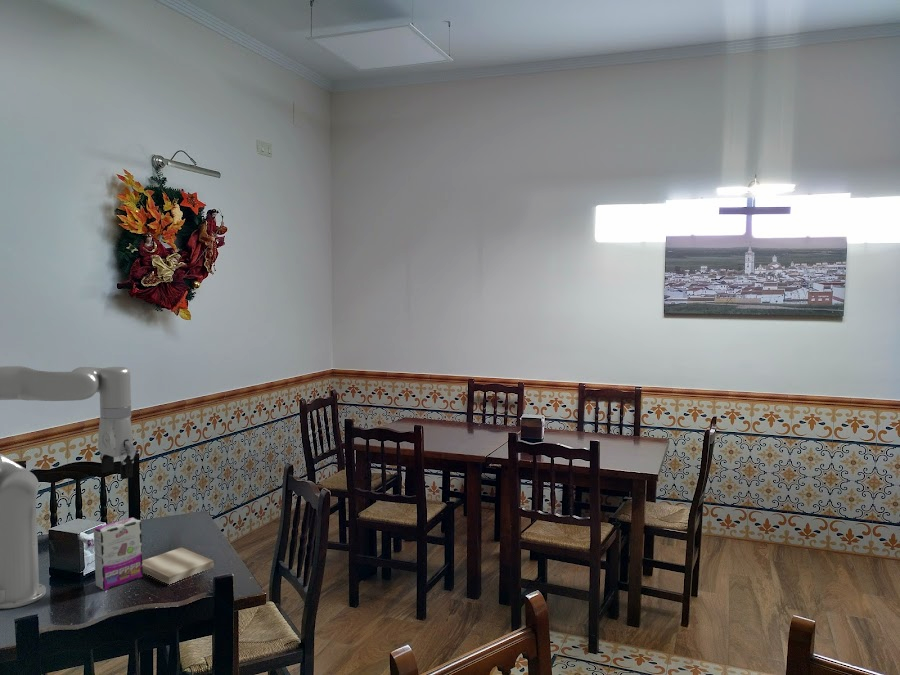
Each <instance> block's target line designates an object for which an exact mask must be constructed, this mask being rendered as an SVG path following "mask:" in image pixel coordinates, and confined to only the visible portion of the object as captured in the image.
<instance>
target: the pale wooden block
mask: <svg viewBox="0 0 900 675" xmlns="http://www.w3.org/2000/svg"><path fill="white" fill-rule="evenodd" d="M214 562H215V560H213V559H211V558H209V557H206V556H205V555H204V556H203V555H201V554H198V553H197V552H194V551H192V550H190V549H187V548H184V547H182V546H181V547H178V548H176V549H172V550H169V551H167V552H163V553H160V554H158V555H155V556H152V557H149V558H146V559H142V565H143V566H142V567H143V574H144V573H145V574H144V575H146V574H147V575H146V576H148V575H150V576H152V577H154V578H156V579H158V580H160V581H162V582H165V583H167V584H169V585H170V584H172V583H175V582H177V581H179V580H182V579H184V578H187V577H189V576H192V575H194V574H197V573H200V572H202V571H205V570H208V569H211V568H213V567H214V566H215V564H214ZM214 568H215V567H214ZM150 576H149V577H150ZM152 577H151V578H152ZM154 578H153V579H154ZM156 579H155V580H156ZM158 580H157V581H158ZM160 581H159V582H160ZM162 582H161V583H162ZM169 585H168V586H169ZM170 586H171V585H170Z"/></svg>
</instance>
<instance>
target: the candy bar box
mask: <svg viewBox="0 0 900 675" xmlns="http://www.w3.org/2000/svg"><path fill="white" fill-rule="evenodd" d="M142 538H143V537H142V520H140V519H138V518H135V517H129V518H125V519H122V520H119V521H115V522H111V523H107V524H105V525H104V524H103V525H101V526H96V527H93V545H94V546H93V547H94V549H93V550H94V570H95V571H94V572H95V586H96V587H97V588H99V589H101V590H102V591H107V590H110V589H113V588H115V587H119V586H122V585H124V584H126V583H130V582H132V580H133V581H135V579H136V580H138V579H141V578H143V577H144V575H143V574H144V573H143V567H142V566H143V565H142V560H143V546H142V545H143V543H142V541H143V540H142Z"/></svg>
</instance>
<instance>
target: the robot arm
mask: <svg viewBox="0 0 900 675" xmlns="http://www.w3.org/2000/svg"><path fill="white" fill-rule="evenodd" d="M130 371H131V370H130V369H129V368H128V367H124V366H110V367H109V366H108V367H90V366H80V367H76V368H74V369H73V370H71V371H44V370H38V369H37V370H36V369H33V368H31V367H30V368H29V367H28V366H20V365H19V366H18V365H17V366H15V365H11V366H10V365H9V366H0V401H6V400H7V401H10V400H12V401H14V400H15V401H17V400H22V401H38V402H39V401H41V402H42V401H43V402H70V401H71V402H73V401H74V402H75V401H83V400H87V399H90V398H92V397H93V396H94V395H95V394H96V393H98V394H99V412H100V413H99V416H100V417H99V418H100V419H99V425H98V435H97V436H98V437H97V438H98V439H97V442H98V444H97V446H98V447H97V448H98V449H97V451H98V452H99V453H100V455H99V456H100V458H101V459H100V461H101V462H100V463H101V473H103V474H106V473H110V472H114V471H115V462H114V461H115V458H117V457H119V460H120V463H121V464H120V465H119V466H120V467H119V469H120V479H121V480H125V479H126V480H127V479H131V478H133V476H134V462H135V461H134V460H135V459H136V458H135V456H136V452H137V449H136V448H135V446H134V440H133V439H134V438H133V428H132V427H133V426H132V420H131V418H132V396H131V395H132V393H131V392H132V391H131V390H132V389H131V372H130ZM39 488H40V485H39V480H38V478H37V476H36V475H35V474H34V473H33V472H31V471H30V470H28V468H26V467H23V466H22V465H20V464H19V463H18V462H15V461H14V460H13V459H11V458H9V457H7V456H5V455H4V454H2V453H0V610H2V609H5V610H6V609H13V608H21V607H24V606H27V605H30V604H33V603H35V602H37V601H39V600H40V599H41V598H43V597H44V596H45V595H46V593H47V588H46V586H45V585H44V584H42V583H40V582H39V581H40V580H39V577H40V576H39V574H40V572H39V548H38V547H39V545H38V544H39V543H38V541H39V540H38V522H37V496H38V492H39Z"/></svg>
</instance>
